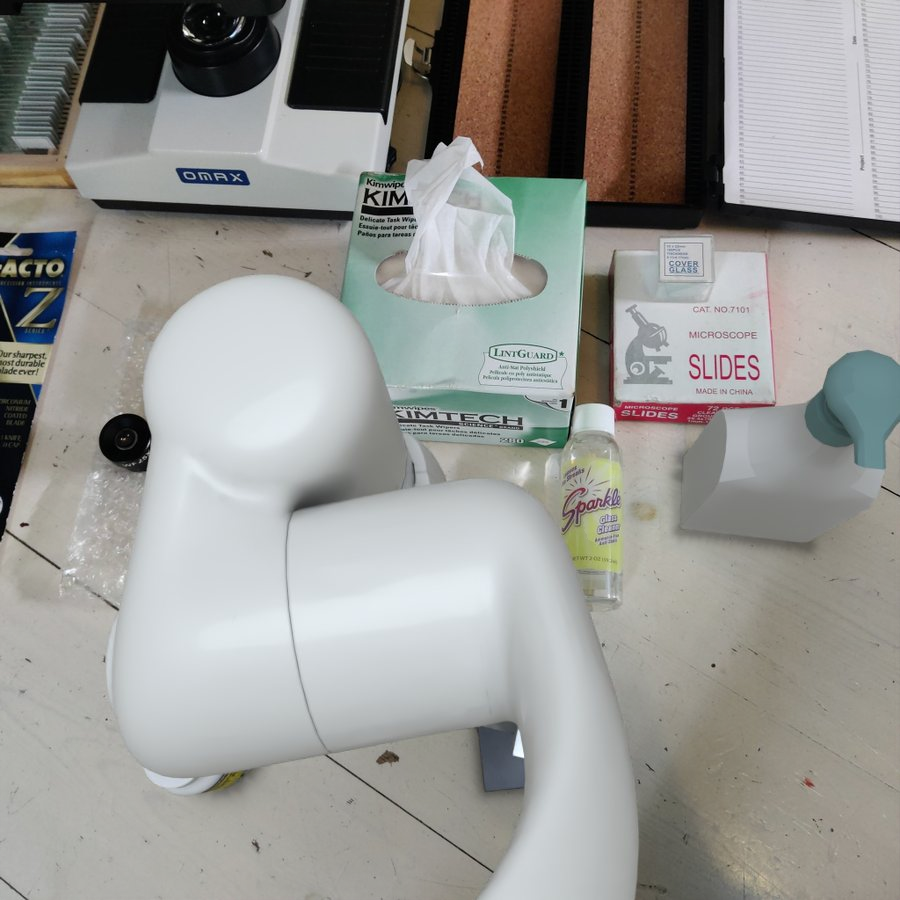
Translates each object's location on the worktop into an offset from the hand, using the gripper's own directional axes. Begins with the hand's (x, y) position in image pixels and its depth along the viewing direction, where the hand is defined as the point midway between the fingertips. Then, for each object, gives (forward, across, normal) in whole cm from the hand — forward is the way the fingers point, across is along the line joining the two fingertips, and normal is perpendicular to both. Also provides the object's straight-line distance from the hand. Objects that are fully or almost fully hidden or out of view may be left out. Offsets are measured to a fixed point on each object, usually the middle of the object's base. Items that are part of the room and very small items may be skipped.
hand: (378, 544), depth 52 cm
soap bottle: (+20, +30, +3) cm, 36 cm away
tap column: (+20, +9, -13) cm, 25 cm away
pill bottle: (+20, -17, -12) cm, 29 cm away
